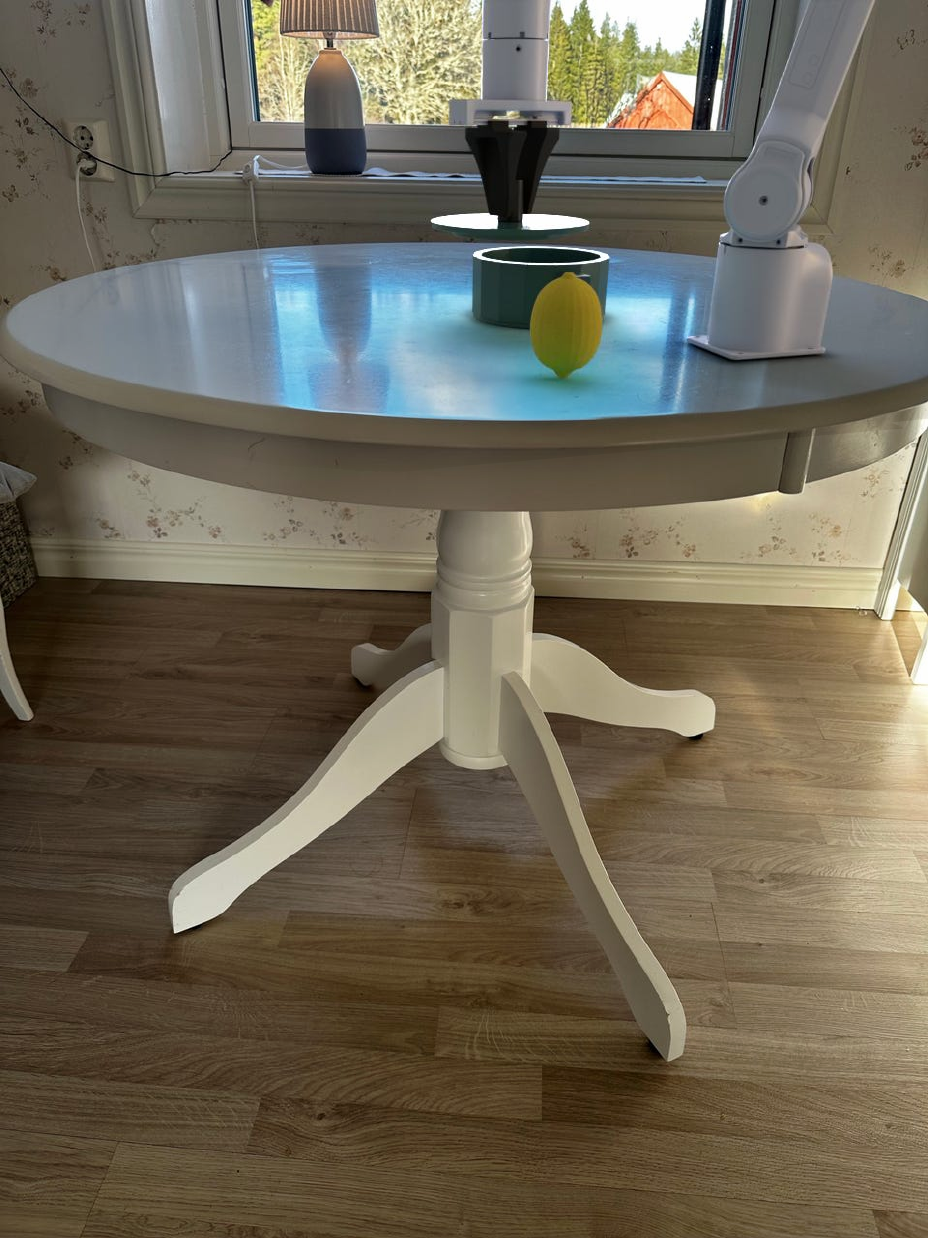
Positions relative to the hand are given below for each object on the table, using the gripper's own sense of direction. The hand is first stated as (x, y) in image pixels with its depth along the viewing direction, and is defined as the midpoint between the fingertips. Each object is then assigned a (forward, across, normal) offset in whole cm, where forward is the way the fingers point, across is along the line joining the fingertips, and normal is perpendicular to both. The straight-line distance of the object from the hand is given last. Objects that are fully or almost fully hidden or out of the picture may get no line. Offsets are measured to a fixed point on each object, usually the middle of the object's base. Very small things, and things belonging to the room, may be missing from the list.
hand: (510, 214), depth 85 cm
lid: (+1, 0, 0) cm, 1 cm away
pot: (+10, -8, -2) cm, 13 cm away
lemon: (+10, +12, +16) cm, 22 cm away
